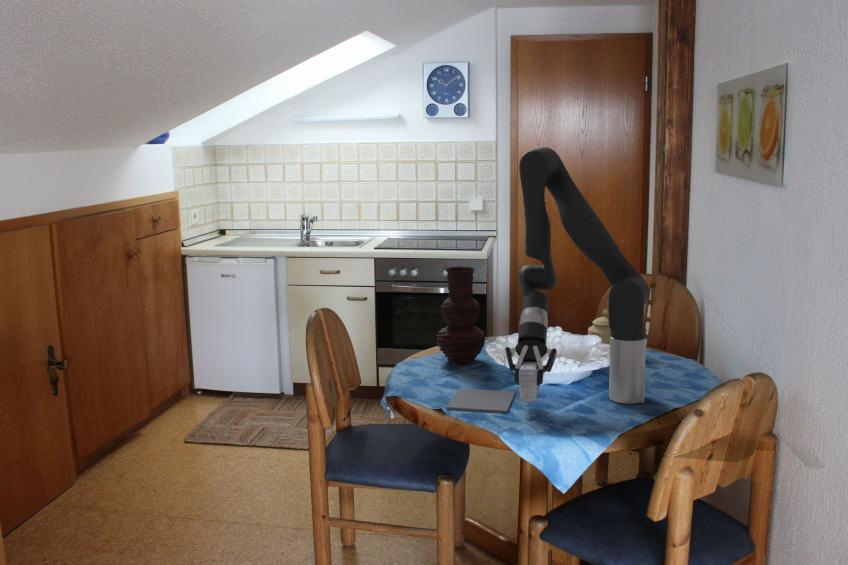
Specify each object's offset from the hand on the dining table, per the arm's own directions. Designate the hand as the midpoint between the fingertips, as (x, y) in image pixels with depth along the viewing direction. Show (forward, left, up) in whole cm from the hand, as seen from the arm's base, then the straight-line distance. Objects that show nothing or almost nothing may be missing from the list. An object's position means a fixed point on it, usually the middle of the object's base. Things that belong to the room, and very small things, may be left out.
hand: (528, 384), depth 210 cm
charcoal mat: (+13, -6, -7) cm, 16 cm away
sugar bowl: (-20, -60, -8) cm, 63 cm away
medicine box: (0, -2, -4) cm, 5 cm away
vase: (+26, -43, -8) cm, 51 cm away
